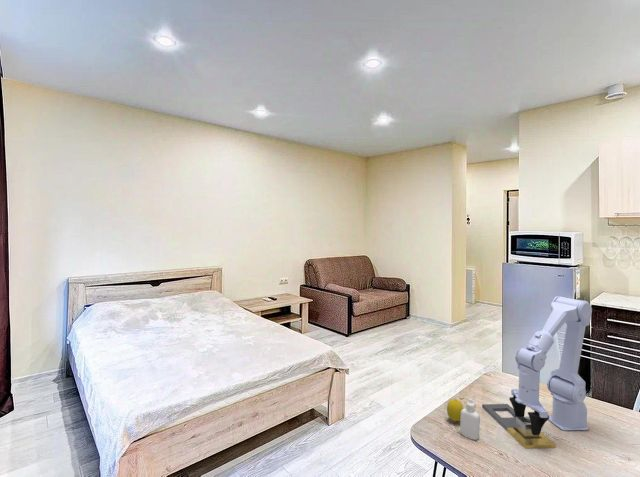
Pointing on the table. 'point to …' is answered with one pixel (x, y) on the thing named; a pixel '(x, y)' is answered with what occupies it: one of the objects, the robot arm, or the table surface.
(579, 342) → the robot arm
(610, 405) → the table surface
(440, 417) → the table surface
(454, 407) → the lemon
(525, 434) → the grey cube with hole
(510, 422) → the rail
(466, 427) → the eye dropper bottle
